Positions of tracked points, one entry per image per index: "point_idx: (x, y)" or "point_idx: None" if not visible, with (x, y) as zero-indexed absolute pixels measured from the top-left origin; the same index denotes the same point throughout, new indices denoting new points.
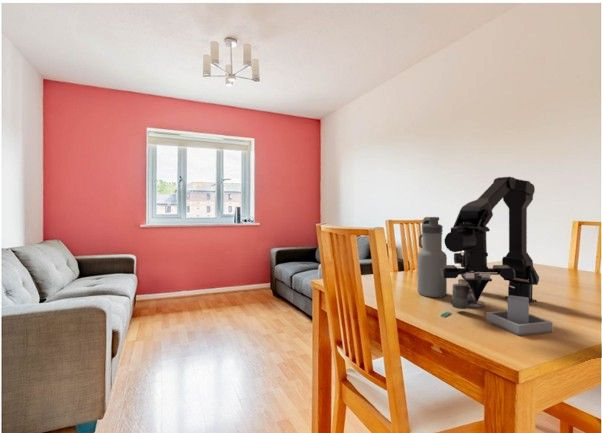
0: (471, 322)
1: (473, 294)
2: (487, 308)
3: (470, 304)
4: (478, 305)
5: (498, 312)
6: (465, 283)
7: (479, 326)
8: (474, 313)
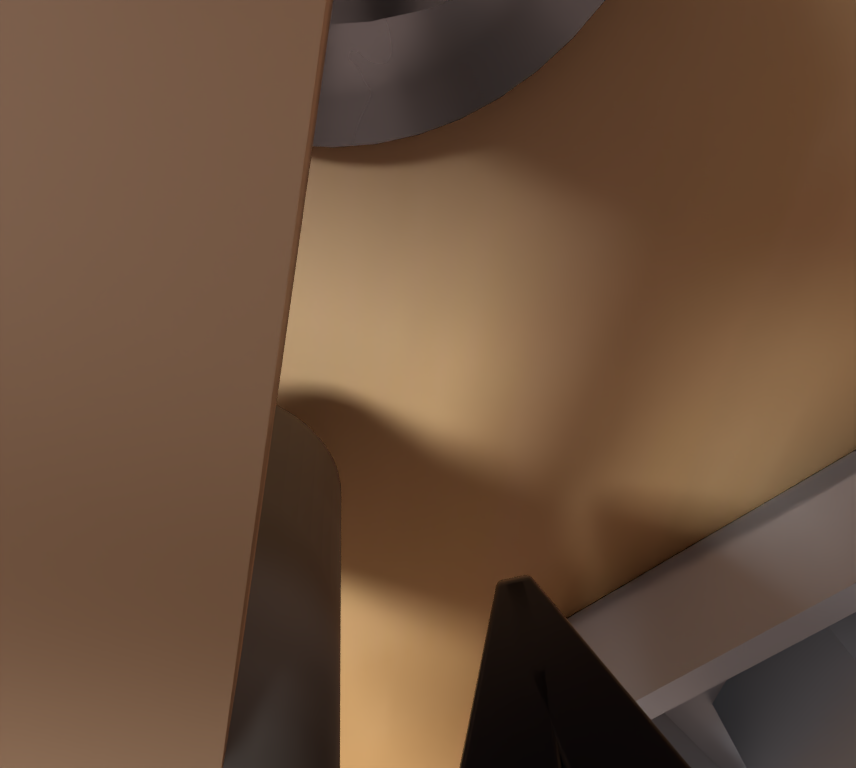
0: (387, 710)
1: (481, 694)
2: (723, 4)
3: (399, 56)
4: (566, 42)
5: (730, 676)
6: (178, 319)
7: (454, 759)
8: (441, 419)
